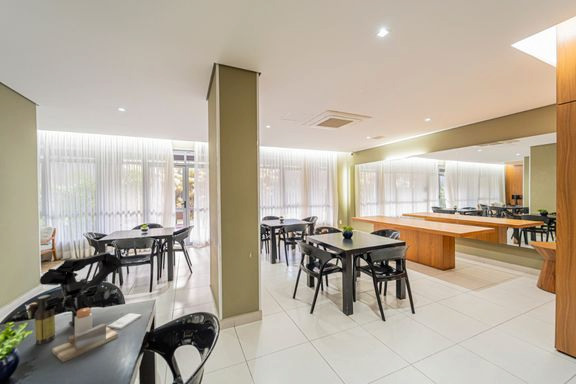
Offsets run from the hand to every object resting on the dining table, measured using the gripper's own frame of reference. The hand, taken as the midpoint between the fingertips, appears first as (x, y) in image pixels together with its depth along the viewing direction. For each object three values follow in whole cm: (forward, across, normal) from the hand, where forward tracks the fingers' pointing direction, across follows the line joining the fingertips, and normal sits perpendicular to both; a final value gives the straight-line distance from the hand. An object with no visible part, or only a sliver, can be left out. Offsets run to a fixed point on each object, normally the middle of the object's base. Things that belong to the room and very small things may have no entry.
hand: (77, 313), depth 108 cm
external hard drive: (+11, +18, +6) cm, 22 cm away
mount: (+15, 0, +1) cm, 15 cm away
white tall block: (+11, 0, +2) cm, 11 cm away
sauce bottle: (+1, -9, +15) cm, 17 cm away
